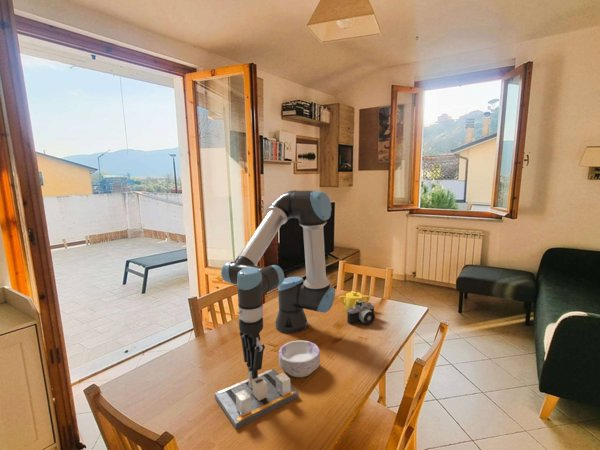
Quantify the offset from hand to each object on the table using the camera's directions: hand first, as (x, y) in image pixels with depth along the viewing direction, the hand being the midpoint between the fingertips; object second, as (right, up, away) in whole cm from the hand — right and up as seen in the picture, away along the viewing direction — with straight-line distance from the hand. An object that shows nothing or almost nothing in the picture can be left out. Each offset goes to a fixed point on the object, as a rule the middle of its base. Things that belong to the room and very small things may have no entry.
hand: (253, 385), depth 104 cm
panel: (+1, -4, -1) cm, 4 cm away
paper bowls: (+15, -1, +14) cm, 21 cm away
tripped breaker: (+2, -2, -3) cm, 4 cm away
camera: (+46, +5, +51) cm, 68 cm away
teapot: (+44, +7, +63) cm, 77 cm away
